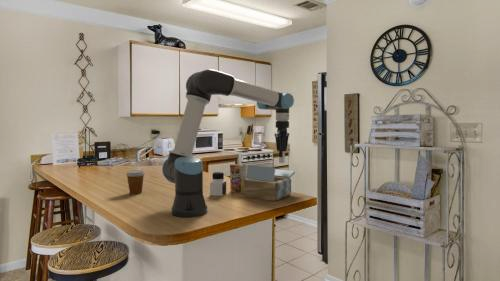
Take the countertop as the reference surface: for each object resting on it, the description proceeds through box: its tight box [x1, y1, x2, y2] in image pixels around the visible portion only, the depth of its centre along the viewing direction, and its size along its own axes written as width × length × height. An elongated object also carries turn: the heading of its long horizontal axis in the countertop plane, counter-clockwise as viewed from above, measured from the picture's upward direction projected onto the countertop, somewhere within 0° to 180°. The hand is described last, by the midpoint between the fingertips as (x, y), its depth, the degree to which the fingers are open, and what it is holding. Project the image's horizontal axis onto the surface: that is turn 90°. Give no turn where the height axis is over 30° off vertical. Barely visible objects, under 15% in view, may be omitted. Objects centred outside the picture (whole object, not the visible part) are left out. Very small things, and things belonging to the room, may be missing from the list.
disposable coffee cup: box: [125, 169, 145, 195], centre depth 181 cm, size 10×10×12 cm
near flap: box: [246, 164, 276, 182], centre depth 166 cm, size 1×16×7 cm, turn 55°
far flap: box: [274, 168, 296, 179], centre depth 182 cm, size 1×16×7 cm
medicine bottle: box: [209, 171, 227, 197], centre depth 176 cm, size 7×7×12 cm
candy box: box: [229, 163, 247, 194], centre depth 182 cm, size 9×4×15 cm, turn 46°
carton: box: [244, 177, 292, 202], centre depth 172 cm, size 16×20×9 cm
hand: (281, 162), depth 184 cm, fingers closed
